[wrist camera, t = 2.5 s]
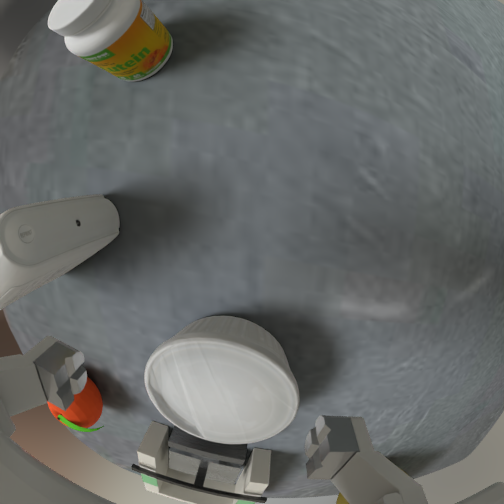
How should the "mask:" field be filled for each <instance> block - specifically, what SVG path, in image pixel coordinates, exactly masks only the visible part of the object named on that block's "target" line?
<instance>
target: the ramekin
mask: <svg viewBox="0 0 504 504" xmlns="http://www.w3.org/2000/svg"><path fill="white" fill-rule="evenodd" d="M144 380H145V386H146V389H147V392H148V395H149V397H150V399H151V400H152V402H153V404H154V405H155V406H156V408H157V409H158V410H159V412H160V413H161V414H162V415H163V416H164V417H165V418H166V419H168V420H169V421H170V422H171V423H173V424H174V425H175V426H177V427H178V428H180V429H182V430H183V431H185V432H187V433H189V434H191V435H194V436H196V437H199V438H202V439H205V440H208V441H212V442H217V443H224V444H247V443H254V442H258V441H262V440H265V439H268V438H270V437H272V436H274V435H276V434H278V433H280V432H281V431H282V430H284V429H285V428H286V427H287V426H288V425H289V424H290V423H291V422H292V421H293V419H294V418H295V416H296V414H297V411H298V408H299V388H298V384H297V381H296V379H295V377H294V375H293V373H292V372H291V370H290V367H289V364H288V361H287V357H286V355H285V353H284V350H283V348H282V347H281V345H280V343H279V342H278V341H277V340H276V339H275V337H273V336H272V335H271V334H270V333H269V332H268V331H266V330H265V329H264V328H262V327H260V326H258V325H257V324H255V323H253V322H250V321H248V320H245V319H242V318H237V317H233V316H211V317H205V318H203V319H199V320H197V321H195V322H192V323H190V324H189V325H187V326H186V327H185V328H183V329H182V330H181V331H180V332H179V333H177V334H176V335H175V336H174V337H173V338H171V339H168V340H167V341H165V342H164V343H162V344H161V345H160V346H159V347H158V348H157V349H156V350H155V351H154V352H153V354H152V355H151V357H150V358H149V360H148V362H147V364H146V368H145V374H144Z"/></svg>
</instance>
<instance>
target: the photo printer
mask: <svg viewBox="0 0 504 504" xmlns="http://www.w3.org/2000/svg"><path fill="white" fill-rule="evenodd" d="M119 227H120V220H119V215H118V212H117V209H116V207H115V206H114V204H113V203H112V202H111V201H110V200H108V199H105V198H104V196H103V195H100V194H95V195H86V196H78V197H71V198H64V199H57V200H51V201H44V202H39V203H33V204H28V205H23V206H18V207H14V208H11V209H9V210H7V211H5V212H4V213H2V214H0V310H2V309H3V308H4V307H6V306H7V305H9V304H11V303H12V302H14V301H16V300H17V299H19V298H21V297H23V296H24V295H26V294H28V293H30V292H31V291H33V290H35V289H37V288H39V287H41V286H42V285H44V284H46V283H48V282H50V281H52V280H54V279H56V278H58V277H60V276H62V275H63V274H65V273H67V272H68V271H70V270H71V269H73V268H74V267H76V266H77V265H79V264H80V263H82V262H83V261H85V260H86V259H88V258H89V257H91V256H92V255H94V254H95V253H96V252H98V251H99V250H101V249H102V248H103V247H105V246H106V245H107V244H109V243H110V242H111V241H112V240H114V239H115V238H116V237H117V236H118V234H119V230H118V229H119Z"/></svg>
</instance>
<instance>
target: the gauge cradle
mask: <svg viewBox="0 0 504 504" xmlns="http://www.w3.org/2000/svg"><path fill="white" fill-rule="evenodd" d="M137 453H138V458H139V466H140V467H142V468H145V469H147V470H150V471H153V472H156V473H159V474H162V475H164V476H168V477H171V478H174V479H177V480H180V481H184V482H187V483H191V484H194V482H195V479H196V476H195V475H191V474H187V473H184V472H180V471H177V470H174V469H171V468H169V467H168V426H166V425H163V424H160V423H157V422H154V421H152V422H151V424H150V426H149V428H148V430H147V432H146V434H145V436H144V438H143V440H142V442H141V444H140V446H139V448H138V450H137ZM270 460H271V450H266V449H259V448H254V449H253V451H252V453H251V455H250V457H249V459H248V461H247V463H246V465H245V467H244V469H243V471H242V473H241V475H240V477H239V479H238V481H237V483H236V484H230V483H225V482H220V481H215V480H211V479H206V478H205V481H204V485H203V487H207V488H211V489H216V490H221V491H226V492H231V493H237V494H243V495H250V496H258V497H260V496H261V495H262V494H263V491H264V490H265V489H266V487H267V486H268V485H269V476H270ZM141 475H142V479H143V482H144V484H145V489H146V490H148V491H151V492H154V493H156V494H159V495H162V496H165V497H168V498H172V499H175V500H179V501H182V502H186V503H189V504H255V502H252V501H245V500H238V499H232V498H227V497H221V496H216V495H212V494H207V493H203V492H199V491H195V490H191V489H187V488H184V487H180V486H177V485H174V484H171V483H167V482H164V481H161V480H158V479H156V478H153V477H150V476H147V475H145V474H142V473H141Z"/></svg>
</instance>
